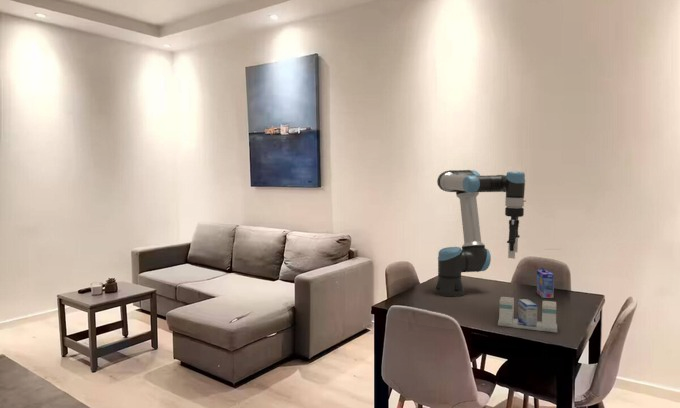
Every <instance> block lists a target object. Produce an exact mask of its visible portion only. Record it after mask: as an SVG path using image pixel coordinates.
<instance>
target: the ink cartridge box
mask: <svg viewBox="0 0 680 408" xmlns="http://www.w3.org/2000/svg"><path fill="white" fill-rule="evenodd" d="M540 268H541V269H536V294H538V295H539V296H540V297H541V298H542V299H554V296H555V294H554V293H555V292H554V291H555V290H554V285H555V284H554V282H555V281H554V279H555V278H554V276H555V275H554V273H553V272H551V271H550V270H548V269H545V268H544V267H543V266H540Z"/></svg>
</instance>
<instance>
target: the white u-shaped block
mask: <svg viewBox="0 0 680 408" xmlns="http://www.w3.org/2000/svg"><path fill="white" fill-rule="evenodd" d="M514 300H515V298H514V297H510V296H501V297H500V299H499V306H498V307H499V309H498V310H499V311H498V312H499V313H498V314H499V315H498V316H499V318H498V321H497V326H498V327H507V328H515V329H522V330H529V331H530V330H534V331H541V332H547V333H554V334H555V333H557V334H558V323H557V301H552V300H542V304H541V305H542V307H541V311H542V312H541V314H542V315H541V321H538V320H537V325H536V326H526V325H525V324H524V323H522V322H521V321H519V320H518V318H514V313H515V311H514V309H515V308H514V307H515V306H514V305H515V301H514Z"/></svg>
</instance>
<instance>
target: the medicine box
mask: <svg viewBox="0 0 680 408" xmlns="http://www.w3.org/2000/svg"><path fill="white" fill-rule="evenodd" d="M517 305H518V306H517V319H518V320H519V321H521V322H522V323H524V324H525V325H526V326H536V325H537V321H538V304H536V303H535V302H533V301H532V300H530V299H527V298H526V299H525V298H523V299H522V298H521V299H518V303H517Z"/></svg>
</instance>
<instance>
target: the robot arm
mask: <svg viewBox="0 0 680 408" xmlns="http://www.w3.org/2000/svg"><path fill="white" fill-rule="evenodd" d="M525 178H526V174H525V172H524V171H507V172H506V175H504V174H495V175H494V174H493V175H492V174H491V175H480V173H479V172H478V171H477V170H474V169H473V170H471V169H459V170H457V169H455V170H453V169H451V170H446V171H443V172H441V173H440V174H439V175H438V177H437V179H436V182H437V186H438V188H439V189H440V190H442V191H443V192H447V193H448V192H449V193H455V195H456V198H458V199H459V205H460V206H459V207H460V214H461V215H460V216H461V223H462V225H461V226H462V233H463V234H462V235H463V245H461V246H449V247H444V248H443V247H442V248H441V249H440V250H439V251H438V252H437V253H438V255H437V267H438V268H437V274H438V275H437V280H436V283H435V285H434V286H435V287H434V294H436V295H439V296H443V297H461V296H463V295H465V293H466V292H465V287H464V286H465V285H464V282H463V280H462V273H473V272H474V273H476V272H477V273H478V272H485V271H487V270H488V269H489V268H490V265H491V260H492V257H491V251H490V250H489V249H488V248H486V247H485V246H486V245H485V244H484V243H483V242H482V237H481V230H480V229H481V228H480V227H481V226H480V218H479V210H478V209H479V208H478V203H477V200H478V199H477V197H478V195H479V194H480V193H505V201H504V202H505V203H504V204H505V208H504V215H505V216H506V217H510V219H509V220H508V240H507V241H506V244H508V251H507V252H508V253H507V259H514V260H516V253H518V246H519V245H518V242H519V239H520V238H521V237H520V235H519V226H520V220H519V218H522V217H524V215H525V214H524V212H525V211H524V210H525V208H524V207H525V202H526V199H525V190H526V189H525V188H526V187H525V186H526V179H525Z"/></svg>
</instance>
